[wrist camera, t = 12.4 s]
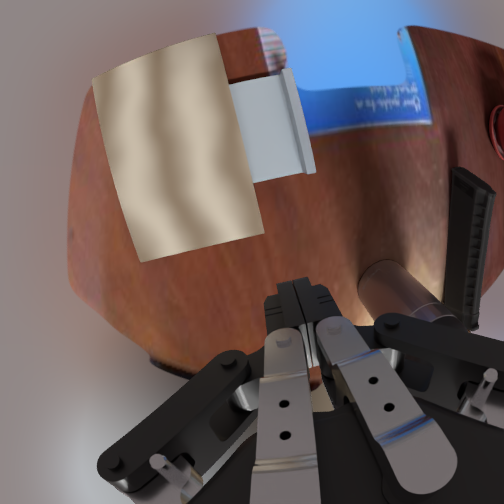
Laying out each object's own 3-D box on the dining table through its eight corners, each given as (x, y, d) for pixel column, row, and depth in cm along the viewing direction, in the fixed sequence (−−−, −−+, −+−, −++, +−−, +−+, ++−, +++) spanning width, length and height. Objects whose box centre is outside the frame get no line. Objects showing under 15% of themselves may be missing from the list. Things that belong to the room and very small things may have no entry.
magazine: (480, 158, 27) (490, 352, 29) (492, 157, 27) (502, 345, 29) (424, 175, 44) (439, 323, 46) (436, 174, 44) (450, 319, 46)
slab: (286, 75, 32) (291, 67, 29) (309, 169, 37) (316, 172, 34) (146, 112, 34) (136, 108, 30) (171, 203, 39) (163, 209, 35)
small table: (223, 65, 31) (215, 32, 20) (258, 207, 39) (264, 233, 28) (132, 95, 32) (91, 79, 21) (168, 230, 40) (140, 262, 28)
